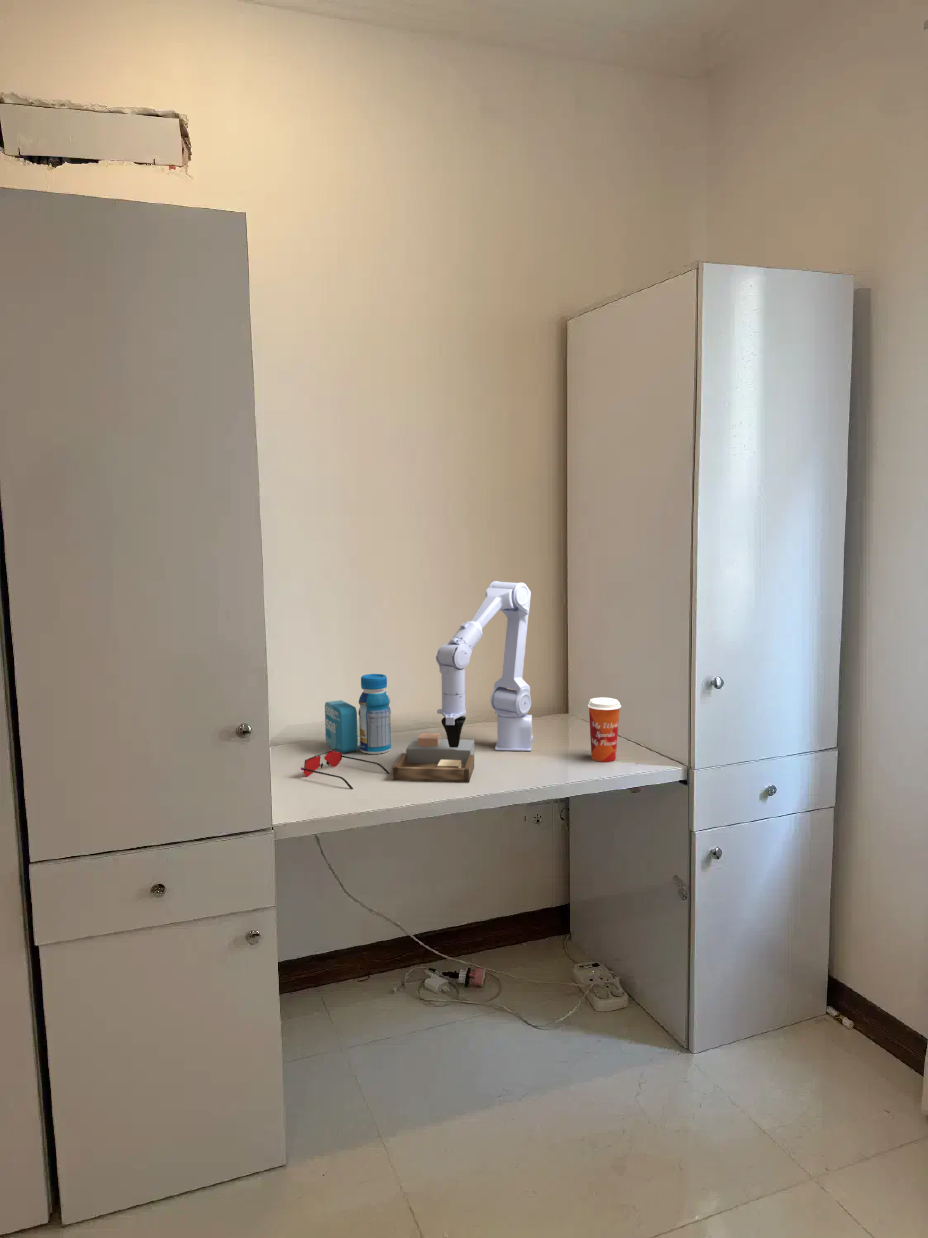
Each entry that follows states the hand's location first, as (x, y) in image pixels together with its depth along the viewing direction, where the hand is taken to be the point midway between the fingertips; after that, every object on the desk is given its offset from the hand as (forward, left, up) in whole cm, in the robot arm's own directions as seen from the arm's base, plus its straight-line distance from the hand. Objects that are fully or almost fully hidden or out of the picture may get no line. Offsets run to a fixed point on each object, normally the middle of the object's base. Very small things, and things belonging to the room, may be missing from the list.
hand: (453, 746), depth 216 cm
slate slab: (+4, -5, -5) cm, 8 cm away
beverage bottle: (+22, -12, -5) cm, 26 cm away
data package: (+32, -14, -5) cm, 35 cm away
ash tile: (0, +6, -2) cm, 6 cm away
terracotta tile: (+7, -6, -1) cm, 9 cm away
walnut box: (+4, +6, -5) cm, 9 cm away
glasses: (+25, +10, -6) cm, 27 cm away
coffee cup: (-37, -9, -5) cm, 38 cm away
